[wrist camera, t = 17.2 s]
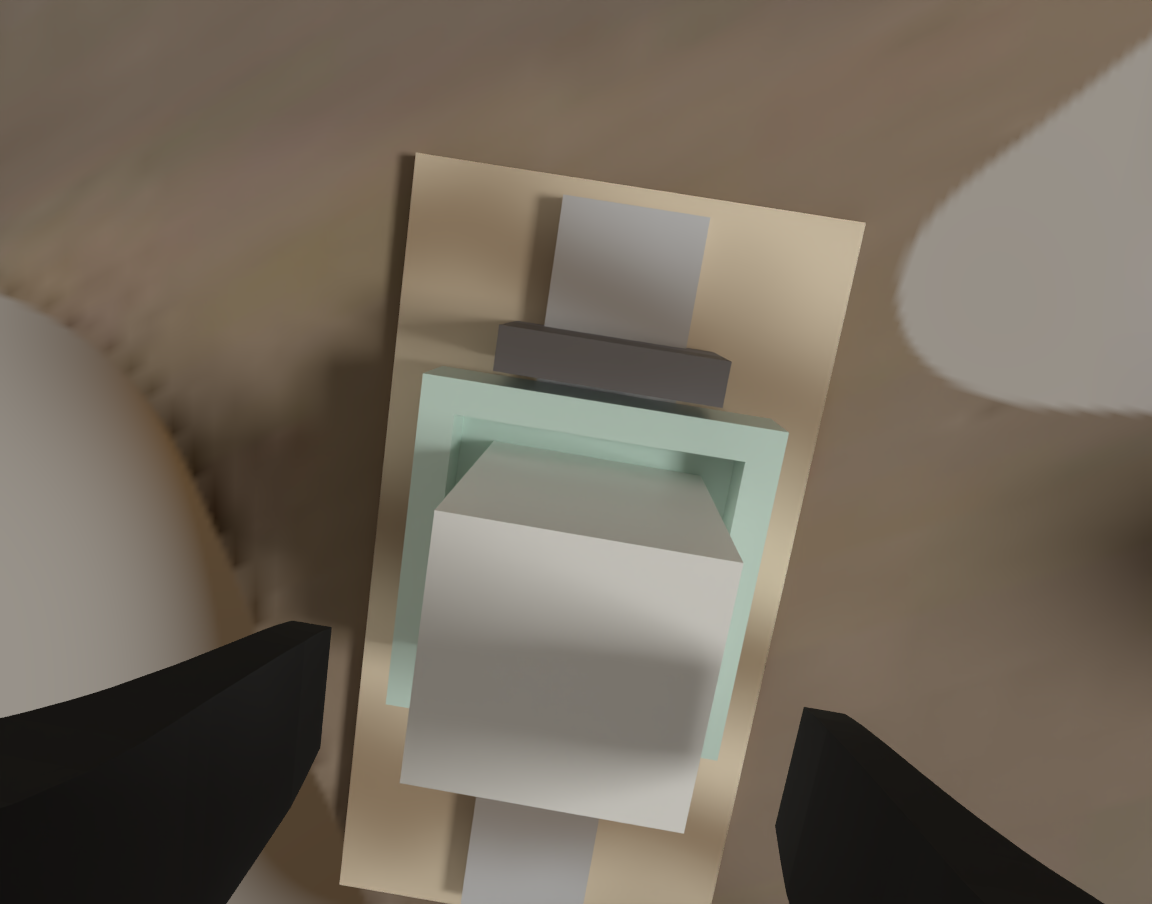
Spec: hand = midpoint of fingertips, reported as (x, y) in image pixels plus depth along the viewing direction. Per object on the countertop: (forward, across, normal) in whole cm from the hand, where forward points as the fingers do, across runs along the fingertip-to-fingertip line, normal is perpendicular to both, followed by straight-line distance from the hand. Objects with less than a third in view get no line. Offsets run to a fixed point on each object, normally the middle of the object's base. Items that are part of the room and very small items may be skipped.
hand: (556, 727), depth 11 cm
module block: (+7, 0, 0) cm, 7 cm away
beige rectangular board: (+9, 0, +2) cm, 9 cm away
